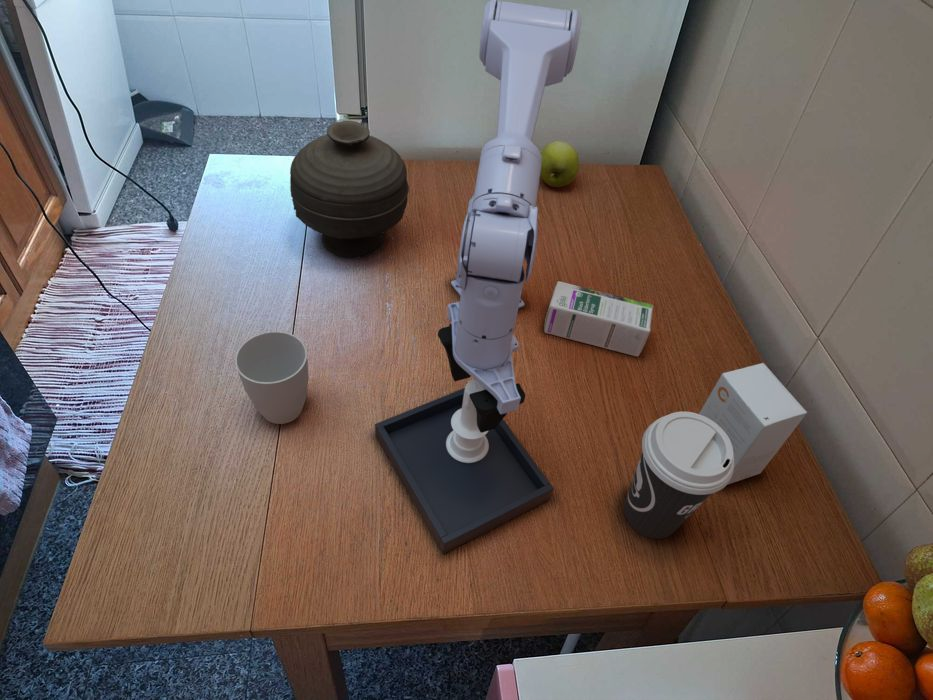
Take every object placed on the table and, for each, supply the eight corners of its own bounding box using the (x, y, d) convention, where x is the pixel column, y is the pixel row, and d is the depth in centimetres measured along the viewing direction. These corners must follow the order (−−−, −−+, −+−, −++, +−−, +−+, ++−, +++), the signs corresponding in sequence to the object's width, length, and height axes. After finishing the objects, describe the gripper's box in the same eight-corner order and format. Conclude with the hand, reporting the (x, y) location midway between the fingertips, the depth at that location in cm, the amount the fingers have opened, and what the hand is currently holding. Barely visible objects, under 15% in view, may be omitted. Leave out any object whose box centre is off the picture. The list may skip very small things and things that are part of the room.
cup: (325, 394, 84) (319, 343, 77) (294, 442, 79) (284, 392, 72) (270, 376, 86) (259, 323, 78) (236, 422, 80) (220, 370, 73)
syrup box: (651, 331, 89) (549, 303, 91) (638, 359, 94) (541, 332, 95) (654, 304, 93) (556, 278, 95) (642, 332, 98) (548, 307, 99)
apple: (531, 192, 120) (538, 154, 114) (535, 166, 126) (542, 129, 120) (573, 199, 119) (582, 161, 113) (575, 173, 125) (584, 135, 120)
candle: (437, 441, 80) (442, 380, 71) (470, 420, 83) (479, 359, 74) (464, 471, 78) (473, 411, 69) (497, 449, 80) (510, 389, 71)
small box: (760, 474, 82) (809, 413, 72) (720, 488, 80) (764, 427, 70) (722, 424, 87) (764, 360, 77) (683, 436, 85) (720, 372, 75)
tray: (375, 435, 81) (374, 423, 79) (474, 395, 87) (476, 382, 85) (442, 554, 71) (444, 543, 69) (550, 499, 77) (554, 488, 75)
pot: (433, 227, 109) (429, 121, 93) (367, 291, 99) (350, 184, 84) (350, 190, 115) (333, 84, 99) (280, 248, 105) (250, 140, 90)
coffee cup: (644, 565, 72) (689, 498, 61) (595, 496, 78) (629, 423, 67) (707, 531, 76) (761, 462, 65) (656, 467, 81) (698, 393, 70)
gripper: (556, 361, 61) (533, 442, 71) (493, 264, 70) (480, 349, 80) (488, 379, 59) (474, 460, 69) (432, 277, 67) (427, 363, 77)
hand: (474, 402), depth 74 cm, fingers open, 7 cm apart
